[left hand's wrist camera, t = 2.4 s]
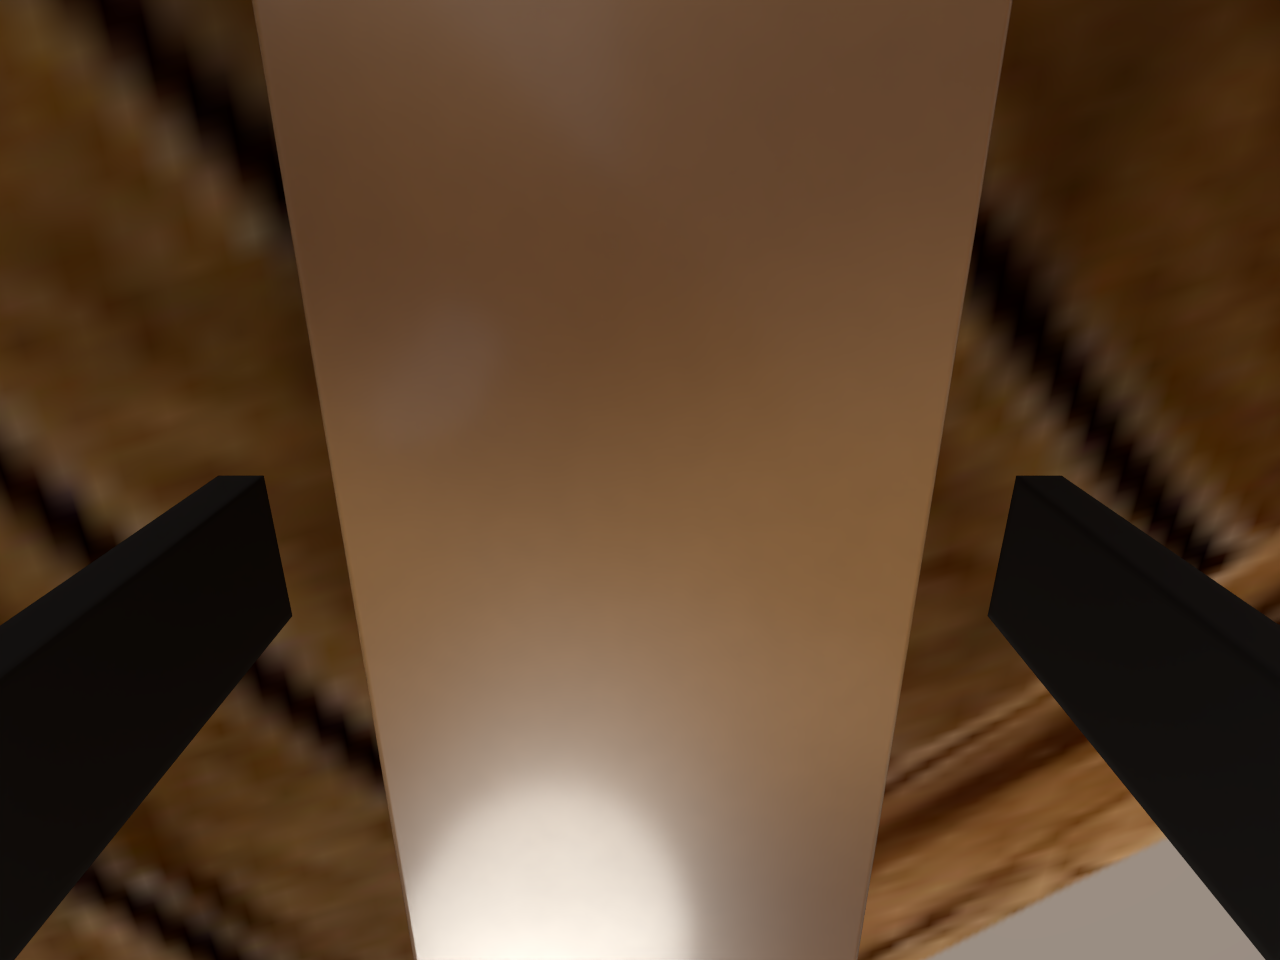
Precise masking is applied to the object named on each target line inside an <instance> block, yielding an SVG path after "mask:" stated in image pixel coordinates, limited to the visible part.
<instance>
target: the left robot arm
mask: <svg viewBox="0 0 1280 960" xmlns="http://www.w3.org/2000/svg"><path fill="white" fill-rule="evenodd" d="M291 617H292V612H291V607H290V602H289V597H288V593H287V588H286V583H285V578H284V573H283V568H282V563H281V558H280V553H279V549H278V544H277V539H276V534H275V529H274V524H273V519H272V514H271V509H270V505H269V500H268V495H267V490H266V485H265V480H264V476H217V477H216V478H214V479H213V480H211V481H210V482H209V483H207V484H206V485H204V486H203V487H201V488H200V489H198V490H197V491H195V492H194V493H193V494H191V495H190V496H188V497H187V498H185V499H184V500H182V501H181V502H179V503H178V504H177V505H175V506H174V507H172V508H171V509H169V510H168V511H166V512H165V513H163V514H162V515H161V516H159V517H158V518H156V519H155V520H153V521H152V522H150V523H149V524H147V525H146V526H145V527H143V528H142V529H140V530H139V531H137V532H136V533H134V534H133V535H131V536H130V537H129V538H127V539H126V540H124V541H123V542H121V543H120V544H118V545H117V546H116V547H114V548H113V549H111V550H110V551H108V552H107V553H105V554H104V555H102V556H101V557H100V558H98V559H97V560H95V561H94V562H92V563H91V564H89V565H88V566H86V567H85V568H84V569H82V570H81V571H79V572H78V573H76V574H75V575H73V576H72V577H70V578H69V579H68V580H66V581H65V582H63V583H62V584H60V585H59V586H57V587H56V588H54V589H53V590H52V591H50V592H49V593H47V594H46V595H44V596H43V597H41V598H40V599H38V600H37V601H36V602H34V603H33V604H31V605H30V606H28V607H27V608H25V609H24V610H22V611H21V612H20V613H18V614H17V615H15V616H14V617H12V618H11V619H9V620H8V621H6V622H5V623H4V624H2V625H1V626H0V960H14V959H15V958H16V957H17V956H18V955H19V953H20V952H21V951H22V950H23V948H24V947H25V946H26V945H27V943H28V942H29V941H30V940H31V938H32V937H33V936H34V935H35V934H36V932H37V931H38V930H39V929H40V927H41V926H42V925H43V924H44V922H45V921H46V920H47V919H48V917H49V916H50V915H51V914H52V912H53V911H54V910H55V909H56V908H57V906H58V905H59V904H60V903H61V901H62V900H63V899H64V898H65V896H66V895H67V894H68V893H69V891H70V890H71V889H72V888H73V887H74V885H75V884H76V883H77V882H78V880H79V879H80V878H81V877H82V875H83V874H84V873H85V872H86V870H87V869H88V868H89V867H90V865H91V864H92V863H93V862H94V861H95V859H96V858H97V857H98V856H99V854H100V853H101V852H102V851H103V849H104V848H105V847H106V846H107V844H108V843H109V842H110V841H111V839H112V838H113V837H114V836H115V835H116V833H117V832H118V831H119V830H120V828H121V827H122V826H123V825H124V823H125V822H126V821H127V820H128V818H129V817H130V816H131V815H132V814H133V812H134V811H135V810H136V809H137V807H138V806H139V805H140V804H141V802H142V801H143V800H144V799H145V797H146V796H147V795H148V794H149V792H150V791H151V790H152V789H153V788H154V786H155V785H156V784H157V783H158V781H159V780H160V779H161V778H162V776H163V775H164V774H165V773H166V771H167V770H168V769H169V768H170V767H171V765H172V764H173V763H174V762H175V760H176V759H177V758H178V757H179V755H180V754H181V753H182V752H183V750H184V749H185V748H186V747H187V745H188V744H189V743H190V742H191V741H192V739H193V738H194V737H195V736H196V734H197V733H198V732H199V731H200V729H201V728H202V727H203V726H204V724H205V723H206V722H207V721H208V720H209V718H210V717H211V716H212V715H213V713H214V712H215V711H216V710H217V708H218V707H219V706H220V705H221V703H222V702H223V701H224V700H225V698H226V697H227V696H228V695H229V694H230V692H231V691H232V690H233V689H234V687H235V686H236V685H237V684H238V682H239V681H240V680H241V679H242V677H243V676H244V675H245V674H246V673H247V671H248V670H249V669H250V668H251V666H252V665H253V664H254V663H255V661H256V660H257V659H258V658H259V656H260V655H261V654H262V653H263V651H264V650H265V649H266V648H267V647H268V645H269V644H270V643H271V642H272V640H273V639H274V638H275V637H276V635H277V634H278V633H279V632H280V630H281V629H282V628H283V627H284V626H285V624H286V623H287V622H288V621H289V619H290V618H291ZM988 617H989V618H990V619H991V621H992V622H993V623H994V624H995V626H996V627H997V628H998V629H999V630H1000V632H1001V633H1002V634H1003V635H1004V637H1005V638H1006V639H1007V640H1008V642H1009V643H1010V644H1011V645H1012V647H1013V648H1014V649H1015V650H1016V652H1017V653H1018V654H1019V655H1020V656H1021V658H1022V659H1023V660H1024V661H1025V663H1026V664H1027V665H1028V666H1029V668H1030V669H1031V670H1032V671H1033V673H1034V674H1035V675H1036V676H1037V677H1038V679H1039V680H1040V681H1041V682H1042V684H1043V685H1044V686H1045V687H1046V689H1047V690H1048V691H1049V692H1050V694H1051V695H1052V696H1053V697H1054V699H1055V700H1056V701H1057V702H1058V703H1059V705H1060V706H1061V707H1062V708H1063V710H1064V711H1065V712H1066V713H1067V715H1068V716H1069V717H1070V718H1071V720H1072V721H1073V722H1074V723H1075V724H1076V726H1077V727H1078V728H1079V729H1080V731H1081V732H1082V733H1083V734H1084V736H1085V737H1086V738H1087V739H1088V741H1089V742H1090V743H1091V744H1092V746H1093V747H1094V748H1095V749H1096V750H1097V752H1098V753H1099V754H1100V755H1101V757H1102V758H1103V759H1104V760H1105V762H1106V763H1107V764H1108V765H1109V767H1110V768H1111V769H1112V770H1113V772H1114V773H1115V774H1116V775H1117V776H1118V778H1119V779H1120V780H1121V781H1122V783H1123V784H1124V785H1125V786H1126V788H1127V789H1128V790H1129V791H1130V793H1131V794H1132V795H1133V796H1134V797H1135V799H1136V800H1137V801H1138V802H1139V804H1140V805H1141V806H1142V807H1143V809H1144V810H1145V811H1146V812H1147V814H1148V815H1149V816H1150V817H1151V819H1152V820H1153V821H1154V822H1155V823H1156V825H1157V826H1158V827H1159V828H1160V830H1161V831H1162V832H1163V833H1164V835H1165V836H1166V837H1167V838H1168V840H1169V841H1170V842H1171V843H1172V844H1173V846H1174V847H1175V848H1176V849H1177V851H1178V852H1179V853H1180V854H1181V855H1182V857H1183V858H1184V859H1185V860H1186V862H1187V863H1188V864H1189V866H1190V867H1191V868H1192V869H1193V870H1194V872H1195V873H1196V874H1197V875H1198V877H1199V878H1200V879H1201V880H1202V882H1203V883H1204V884H1205V885H1206V887H1207V888H1208V889H1209V890H1210V891H1211V893H1212V894H1213V895H1214V896H1215V898H1216V899H1217V900H1218V901H1219V903H1220V904H1221V905H1222V906H1223V908H1224V909H1225V910H1226V911H1227V913H1228V914H1229V915H1230V916H1231V917H1232V919H1233V920H1234V921H1235V922H1236V924H1237V925H1238V926H1239V927H1240V929H1241V930H1242V931H1243V932H1244V934H1245V935H1246V936H1247V937H1248V938H1249V940H1250V941H1251V942H1252V943H1253V945H1254V946H1255V947H1256V948H1257V950H1258V951H1259V952H1260V953H1261V955H1262V956H1263V957H1264V958H1265V960H1280V625H1279V624H1277V623H1275V622H1274V621H1272V620H1271V619H1269V618H1268V617H1266V616H1265V615H1263V614H1262V613H1260V612H1259V611H1258V610H1256V609H1255V608H1253V607H1252V606H1250V605H1249V604H1247V603H1246V602H1244V601H1243V600H1242V599H1240V598H1239V597H1237V596H1236V595H1234V594H1233V593H1231V592H1230V591H1228V590H1227V589H1226V588H1224V587H1223V586H1221V585H1220V584H1218V583H1217V582H1215V581H1214V580H1212V579H1211V578H1210V577H1208V576H1207V575H1205V574H1204V573H1202V572H1201V571H1199V570H1198V569H1196V568H1195V567H1194V566H1192V565H1191V564H1189V563H1188V562H1186V561H1185V560H1183V559H1182V558H1180V557H1179V556H1178V555H1176V554H1175V553H1173V552H1172V551H1170V550H1169V549H1167V548H1166V547H1164V546H1163V545H1162V544H1160V543H1159V542H1157V541H1156V540H1154V539H1153V538H1151V537H1150V536H1148V535H1147V534H1146V533H1144V532H1143V531H1141V530H1140V529H1138V528H1137V527H1135V526H1134V525H1132V524H1131V523H1130V522H1128V521H1127V520H1125V519H1124V518H1122V517H1121V516H1119V515H1118V514H1116V513H1115V512H1114V511H1112V510H1111V509H1109V508H1108V507H1106V506H1105V505H1103V504H1102V503H1100V502H1099V501H1098V500H1096V499H1095V498H1093V497H1092V496H1090V495H1089V494H1087V493H1086V492H1084V491H1083V490H1082V489H1080V488H1079V487H1077V486H1076V485H1074V484H1073V483H1071V482H1070V481H1069V480H1067V479H1066V478H1064V477H1063V476H1016V480H1015V485H1014V490H1013V495H1012V499H1011V504H1010V509H1009V514H1008V519H1007V524H1006V529H1005V534H1004V539H1003V543H1002V548H1001V553H1000V558H999V563H998V568H997V573H996V578H995V583H994V588H993V592H992V597H991V602H990V607H989V612H988Z"/></svg>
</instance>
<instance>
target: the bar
mask: <svg viewBox="0 0 1280 960" xmlns="http://www.w3.org/2000/svg"><path fill="white" fill-rule="evenodd" d="M1012 1H1013V0H252V4H253V10H254V16H255V21H256V27H257V33H258V39H259V45H260V51H261V57H262V63H263V69H264V75H265V81H266V87H267V93H268V98H269V104H270V110H271V116H272V122H273V128H274V134H275V140H276V146H277V152H278V158H279V164H280V170H281V175H282V181H283V187H284V193H285V199H286V205H287V211H288V217H289V223H290V229H291V235H292V241H293V247H294V252H295V258H296V264H297V270H298V276H299V282H300V288H301V294H302V300H303V306H304V312H305V318H306V324H307V329H308V335H309V341H310V347H311V353H312V359H313V365H314V371H315V377H316V383H317V389H318V395H319V401H320V406H321V412H322V418H323V424H324V430H325V436H326V442H327V448H328V454H329V460H330V466H331V472H332V478H333V483H334V489H335V495H336V501H337V507H338V513H339V519H340V525H341V531H342V537H343V543H344V549H345V555H346V561H347V566H348V572H349V578H350V584H351V590H352V596H353V602H354V608H355V614H356V620H357V626H358V632H359V638H360V643H361V649H362V655H363V661H364V667H365V673H366V679H367V685H368V691H369V697H370V703H371V709H372V715H373V720H374V726H375V732H376V738H377V744H378V750H379V756H380V762H381V768H382V774H383V780H384V786H385V792H386V797H387V803H388V809H389V815H390V821H391V827H392V833H393V839H394V845H395V851H396V857H397V863H398V869H399V874H400V880H401V886H402V892H403V898H404V904H405V910H406V916H407V922H408V928H409V934H410V940H411V946H412V951H413V957H414V960H857V958H858V951H859V945H860V939H861V933H862V927H863V920H864V914H865V908H866V902H867V896H868V890H869V883H870V877H871V871H872V865H873V859H874V853H875V846H876V840H877V834H878V828H879V822H880V816H881V809H882V803H883V797H884V791H885V785H886V778H887V772H888V766H889V760H890V754H891V748H892V741H893V735H894V729H895V723H896V717H897V711H898V704H899V698H900V692H901V686H902V680H903V674H904V667H905V661H906V655H907V649H908V643H909V636H910V630H911V624H912V618H913V612H914V606H915V599H916V593H917V587H918V581H919V575H920V569H921V562H922V556H923V550H924V544H925V538H926V532H927V525H928V519H929V513H930V507H931V501H932V494H933V488H934V482H935V476H936V470H937V464H938V457H939V451H940V445H941V439H942V433H943V427H944V420H945V414H946V408H947V402H948V396H949V390H950V383H951V377H952V371H953V365H954V359H955V352H956V346H957V340H958V334H959V328H960V322H961V315H962V309H963V303H964V297H965V291H966V285H967V278H968V272H969V266H970V260H971V254H972V248H973V241H974V235H975V229H976V223H977V217H978V210H979V204H980V198H981V192H982V186H983V180H984V173H985V167H986V161H987V155H988V149H989V143H990V136H991V130H992V124H993V118H994V112H995V106H996V99H997V93H998V87H999V81H1000V75H1001V68H1002V62H1003V56H1004V50H1005V44H1006V38H1007V31H1008V25H1009V19H1010V13H1011V7H1012Z"/></svg>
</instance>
